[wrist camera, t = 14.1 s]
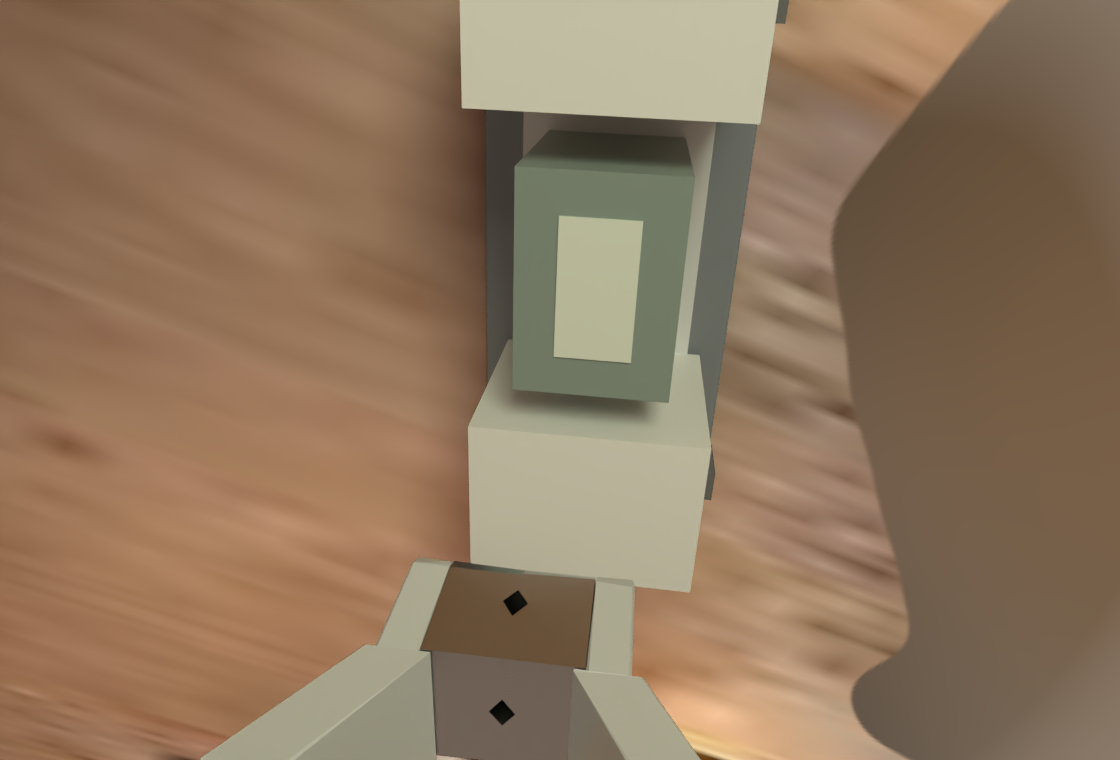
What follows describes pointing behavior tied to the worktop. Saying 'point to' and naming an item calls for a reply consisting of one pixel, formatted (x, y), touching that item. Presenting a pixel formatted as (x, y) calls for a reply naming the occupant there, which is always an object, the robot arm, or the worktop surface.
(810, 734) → the worktop surface
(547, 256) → the block
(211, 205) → the worktop surface
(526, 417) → the rail base
